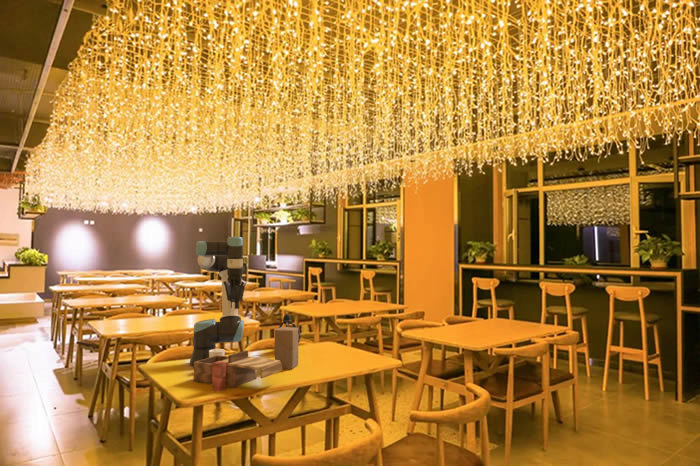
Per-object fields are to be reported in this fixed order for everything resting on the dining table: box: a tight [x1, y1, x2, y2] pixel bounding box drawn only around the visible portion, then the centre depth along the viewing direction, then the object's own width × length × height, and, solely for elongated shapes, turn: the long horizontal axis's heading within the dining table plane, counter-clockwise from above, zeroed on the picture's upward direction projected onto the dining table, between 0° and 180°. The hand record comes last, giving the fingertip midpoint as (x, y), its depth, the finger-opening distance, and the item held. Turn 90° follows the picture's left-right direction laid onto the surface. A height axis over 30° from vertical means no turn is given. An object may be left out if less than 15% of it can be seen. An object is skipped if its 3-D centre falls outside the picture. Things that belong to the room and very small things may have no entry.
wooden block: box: [274, 326, 299, 370], centre depth 241 cm, size 10×10×20 cm
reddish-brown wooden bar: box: [211, 361, 227, 392], centre depth 200 cm, size 4×4×12 cm
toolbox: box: [192, 355, 257, 389], centre depth 215 cm, size 24×16×9 cm, turn 64°
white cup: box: [209, 348, 226, 358], centre depth 234 cm, size 8×8×10 cm
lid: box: [222, 350, 283, 379], centre depth 209 cm, size 26×15×8 cm, turn 64°
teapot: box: [274, 313, 302, 344], centre depth 281 cm, size 12×25×23 cm, turn 34°
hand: (234, 315), depth 225 cm, fingers closed
